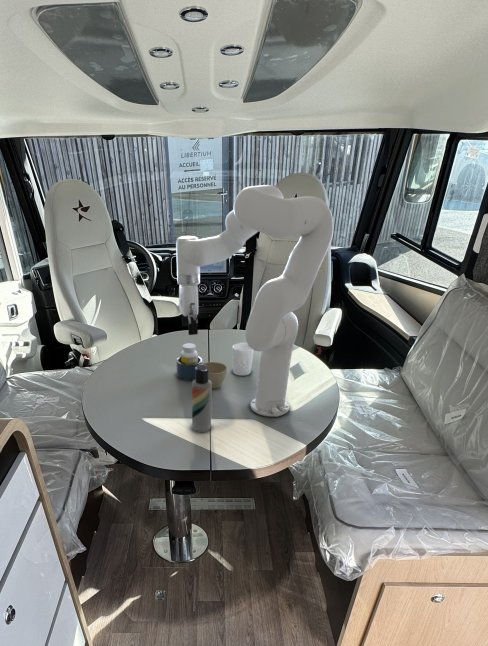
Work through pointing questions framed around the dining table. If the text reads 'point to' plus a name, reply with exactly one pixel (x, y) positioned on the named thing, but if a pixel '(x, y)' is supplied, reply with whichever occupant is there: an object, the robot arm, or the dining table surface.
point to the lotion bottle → (201, 399)
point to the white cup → (242, 359)
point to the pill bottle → (189, 354)
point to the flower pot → (216, 373)
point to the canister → (186, 370)
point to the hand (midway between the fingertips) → (189, 330)
